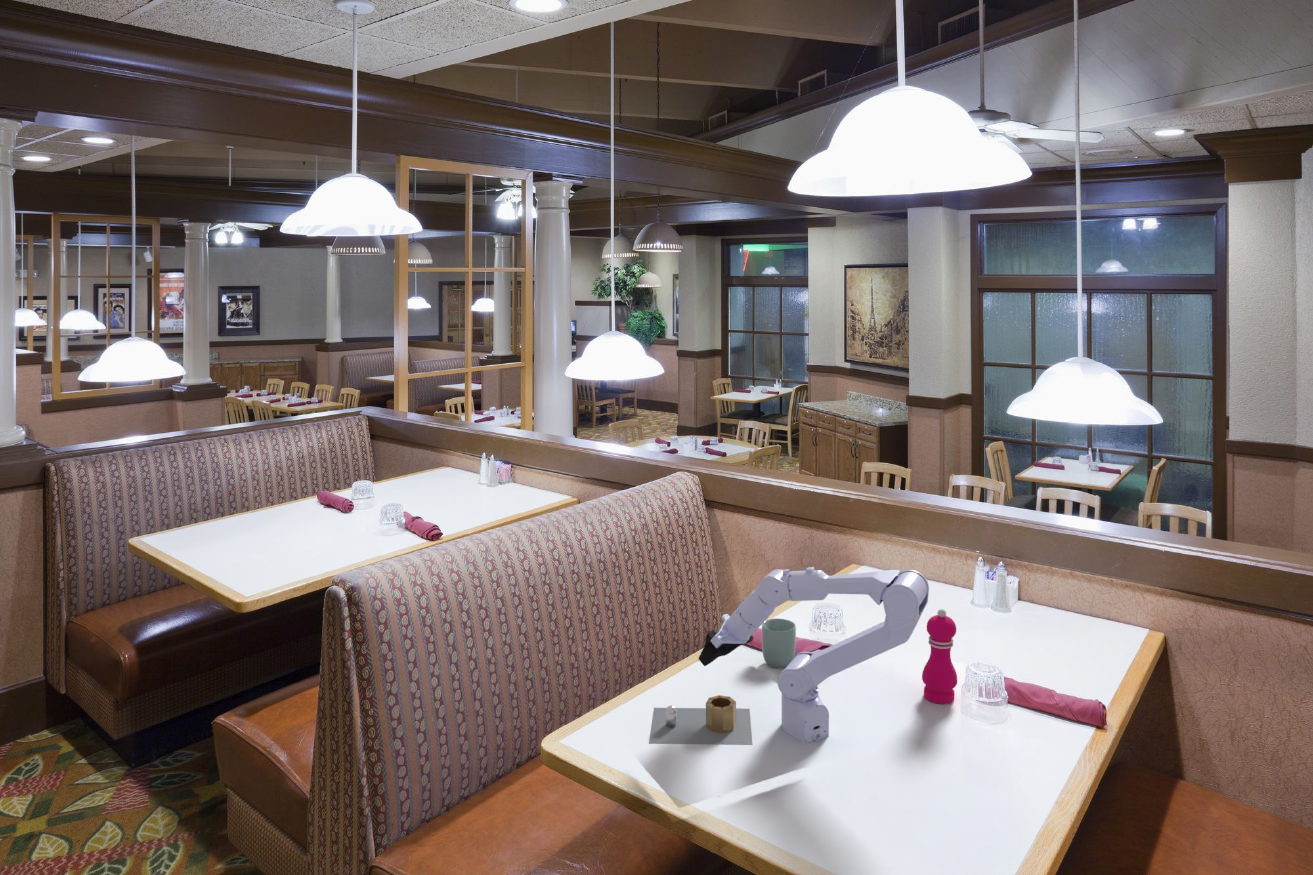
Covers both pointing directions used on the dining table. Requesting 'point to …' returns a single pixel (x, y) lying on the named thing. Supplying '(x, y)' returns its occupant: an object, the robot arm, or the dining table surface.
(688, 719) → the slate block
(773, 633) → the cup
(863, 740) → the dining table surface
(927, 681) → the pepper mill
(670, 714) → the steel pin
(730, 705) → the bronze ring
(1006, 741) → the dining table surface
